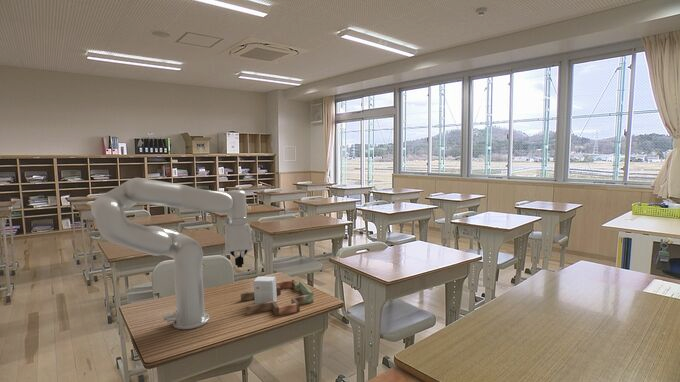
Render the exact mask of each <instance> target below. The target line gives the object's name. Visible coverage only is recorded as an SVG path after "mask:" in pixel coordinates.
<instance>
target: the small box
mask: <svg viewBox="0 0 680 382" xmlns="http://www.w3.org/2000/svg"><path fill="white" fill-rule="evenodd" d="M276 279H277V278H276V276H257V277H256V278H255V279H254V280H253V291H254V298H255V299H254V304H259V303H265V302H270V301H275V303H277V301H278V298H277V297H278V295H277V291H276V282H277V280H276Z"/></svg>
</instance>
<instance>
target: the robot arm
mask: <svg viewBox="0 0 680 382" xmlns="http://www.w3.org/2000/svg"><path fill="white" fill-rule="evenodd" d="M137 204H142V205H149V206H151V205H152V206H158V207H159V206H160V207H167V208H175V209H182V210H195V211H201V212H207V213H208V212H210V213H218V214H225V213H226V218H225V219H223V224H227V225H225V229H224V230H225V231H224V247H225V248H224V249H225V250H224V254H226V255H231V256H232V257H233V258H234V263H235V266H236V268H239V269H240V268H243V265H244V264H245V263H244V262H245V261H244V257H245V255H246V254H247V253H249V252H252V251H253V238H252V231H251V230H252V229H251V226H250V223H248V215H247V214H248V213H247V209H248V208H247V193H246V191H244V190H243V189H231V190H228V191H227V190H226V191H225V190H224V191H222V190H207V189H201V188H197V187H193V186H189V185H187V184H181V183H173V182H168V181H162V180H155V179H148V178H142V177H134V178H131V179H128V180H127V181H125V182H123V183H122V184H120V185H118V186H116V187H114V188H113V189H111V190H109V191H107V192H105V193H104V194H102V195H100V196H98V197H97V198H96V199H94V201H93V202H92V204H91V207H90V211H91V214H92V216H93V218H94V220H95V226H96V229H97V230H98V232H99V234H100V235H101V236H102V237H103V238H104V239H105V240H106V241H108V242H109V243H112V244H114V245H118V246H120V247H124V248H126V249H131V250H134V251H137V252H140V253H145V254H146V255H147V254H148V255H150V256H154V257H155V256H156V257H159V256H165V257H169V258H172V259H173V260H174V268H173V270H174V272H173V278H174V290H175V292H174V294H175V305H176V308H175V312H172V313H170V314H163V321H166V323H169V322H170V323H171V322H172V326H173V327H174V328H175V329H178V330H191V329H196V328H200V327H202V326H204V325H206V324H207V323H208V322H209V321H210V314H209V313H207V312H205V298H204V297H205V296H204V295H205V294H204V278H203V261H204V260H203V259H204V251H203V247H202V245H201V244H200V243H199V242H198V241H197V240H196V239H194V238H193V237H191V236H188V235H186V234H184V233H180V232H177V231H174V230H171V229H167V228H164V227H161V226H157V225H148V226H147V225H143V224H141V223H137V222H135V221H134V222H133V221H131V220H130V219H128V218H127V216H126V214H125V212H126V211H128V210H129V209H131V208H132V207H134V206H136V205H137ZM238 252H239V254H238Z"/></svg>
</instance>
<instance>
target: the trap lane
mask: <svg viewBox="0 0 680 382" xmlns="http://www.w3.org/2000/svg"><path fill="white" fill-rule="evenodd" d="M288 288H289V289H290V288H293V290H294V291H295V292H301V293H302V295H299V296H293V297H290V304H284V305H278V304H277V302H275V301H270V302H265V303H259V304H255V303H254V304H248V305H246V307H245V308H246V315H252V314H256V313H257V314H258V313H262V312H267V311H272V312H273V313H274V315H275V316H282V315H286V314H293V313H297V312H300V311H301V310H300V309H301V308H300V305H303V304H304V305H305V304H308V303H309V304H310V303H314V300H315V299H314V292H313V291H312V290H311V289H310V288H309V287H308V285H306V284H305V283H304V281H301V280H299V281H298V282H297V281H295V279H290V280H284V281H276V291H277V296H279V295H281V294H282V292H281V291H282V290H283V289H288ZM250 300H255V298H254V290H253V291H247V292H240V301H241V302H243V301H244V302H245V301H250Z"/></svg>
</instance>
